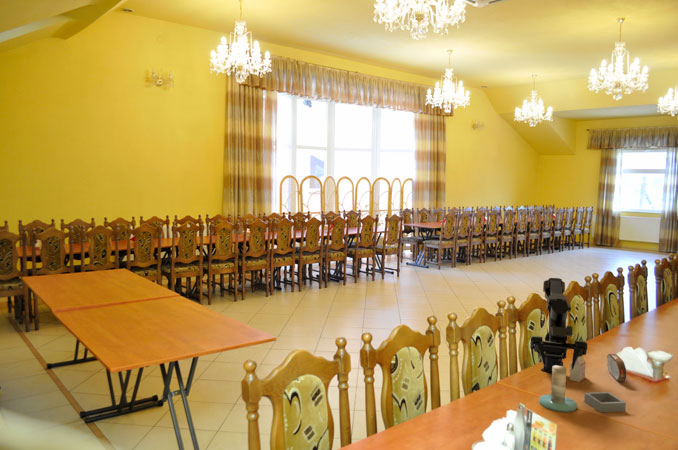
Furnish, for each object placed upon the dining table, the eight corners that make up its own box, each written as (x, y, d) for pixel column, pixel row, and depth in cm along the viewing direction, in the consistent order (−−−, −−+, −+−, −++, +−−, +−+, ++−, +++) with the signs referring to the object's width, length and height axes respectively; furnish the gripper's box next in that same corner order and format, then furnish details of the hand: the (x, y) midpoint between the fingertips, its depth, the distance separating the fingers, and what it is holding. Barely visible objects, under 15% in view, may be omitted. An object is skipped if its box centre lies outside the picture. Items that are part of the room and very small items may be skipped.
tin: (626, 384, 193) (627, 363, 192) (617, 384, 193) (618, 362, 193) (613, 370, 207) (614, 350, 207) (605, 370, 208) (606, 350, 207)
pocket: (584, 401, 177) (584, 392, 177) (608, 400, 178) (608, 391, 178) (600, 412, 168) (600, 403, 168) (625, 411, 169) (625, 402, 169)
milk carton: (569, 379, 197) (570, 354, 196) (575, 374, 202) (576, 350, 202) (579, 382, 195) (580, 356, 194) (585, 377, 200) (586, 352, 199)
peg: (548, 399, 176) (549, 365, 175) (559, 398, 177) (561, 365, 176) (555, 404, 172) (557, 370, 171) (567, 403, 172) (569, 369, 172)
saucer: (532, 402, 176) (532, 399, 176) (551, 394, 183) (551, 391, 183) (564, 415, 166) (564, 412, 166) (583, 406, 173) (583, 403, 173)
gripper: (531, 314, 185) (531, 353, 175) (588, 319, 178) (590, 360, 169) (530, 329, 193) (529, 367, 183) (584, 334, 186) (586, 374, 177)
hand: (558, 367), depth 178 cm, fingers open, 9 cm apart
